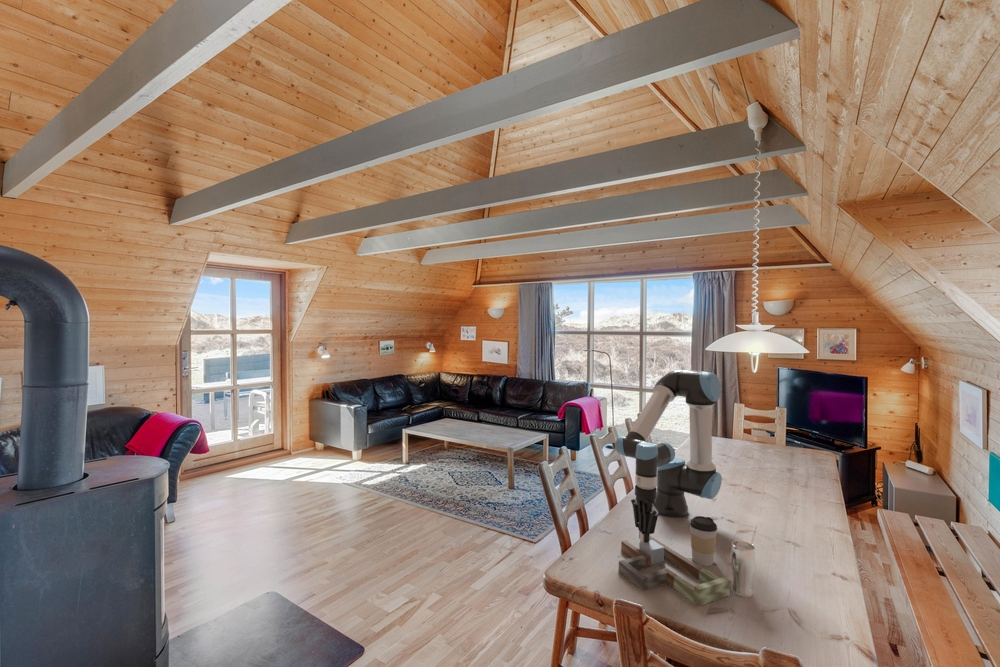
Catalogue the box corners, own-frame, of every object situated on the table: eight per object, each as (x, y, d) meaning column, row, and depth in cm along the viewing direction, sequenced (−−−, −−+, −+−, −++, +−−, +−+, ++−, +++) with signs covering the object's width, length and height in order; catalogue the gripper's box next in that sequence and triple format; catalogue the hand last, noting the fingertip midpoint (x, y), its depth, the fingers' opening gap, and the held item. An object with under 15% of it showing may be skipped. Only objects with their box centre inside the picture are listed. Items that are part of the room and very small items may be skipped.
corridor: (648, 544, 176) (648, 531, 176) (729, 595, 143) (730, 580, 143) (599, 555, 167) (599, 542, 167) (673, 614, 134) (674, 597, 134)
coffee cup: (700, 568, 159) (701, 525, 159) (683, 555, 168) (684, 515, 167) (722, 565, 162) (723, 523, 161) (704, 552, 170) (705, 512, 170)
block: (652, 553, 169) (652, 539, 169) (663, 561, 164) (664, 547, 164) (639, 556, 167) (639, 542, 167) (650, 564, 162) (651, 550, 161)
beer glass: (746, 585, 149) (747, 539, 149) (759, 598, 142) (760, 550, 142) (725, 585, 149) (726, 539, 149) (737, 598, 142) (738, 550, 142)
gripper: (625, 481, 173) (624, 543, 173) (650, 493, 161) (648, 560, 161) (641, 478, 176) (640, 539, 176) (666, 490, 164) (664, 556, 164)
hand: (644, 549), depth 169 cm, fingers closed
